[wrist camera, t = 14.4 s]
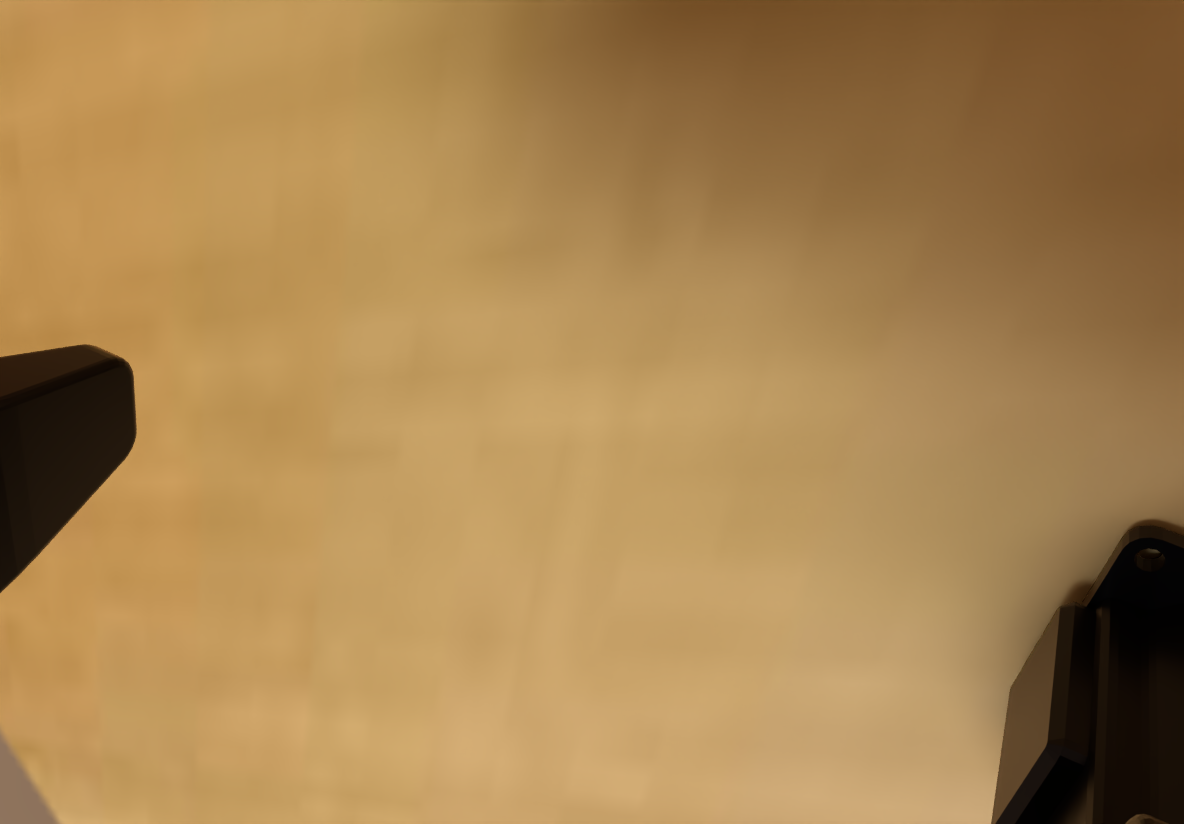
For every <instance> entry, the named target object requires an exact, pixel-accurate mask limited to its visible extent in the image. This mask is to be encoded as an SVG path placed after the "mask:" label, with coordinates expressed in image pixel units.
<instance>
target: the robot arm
mask: <svg viewBox="0 0 1184 824" xmlns="http://www.w3.org/2000/svg"><path fill="white" fill-rule="evenodd" d="M136 430H137V428H136V410H135V393H134V376H133V371H132V369H131V367H130V365H129V363H128V362H127V361H125V360H124V359H123V358H121V357H119V356H117V355H114V354H112V353H110V352H108V351H105V350H103V349H101V348H99V347H96V346H92V345H86V344H84V345H76V346H69V347H63V348H56V349H50V350H44V351H37V352H31V353H24V354H18V355H11V356H5V357H0V593H1V592H2V591H3V590H4V589H5V588H6V587H7V586H8V585H9V584H10V583H11V582H12V581H13V580H15V579H16V578H17V577H18V576H19V575H20V574H21V573H22V572H23V570H24V569H25V568H26V567H27V566H28V565H29V564H30V563H31V562H32V561H33V560H34V559H35V558H36V557H37V556H38V555H39V554H40V553H41V551H42V550H43V549H44V548H45V547H46V546H47V545H48V544H49V543H50V541H51V540H52V539H53V538H54V537H55V536H56V535H57V534H58V533H59V532H60V530H61V529H62V528H63V527H64V526H65V525H66V524H67V523H68V522H69V521H70V519H71V518H72V517H73V516H74V515H75V514H76V513H77V512H78V511H79V509H80V508H81V507H82V506H83V505H84V504H85V503H86V502H87V501H88V500H89V498H90V497H91V496H92V495H93V494H94V493H95V492H96V491H97V490H98V488H99V487H100V486H101V485H102V484H103V483H104V482H105V481H106V480H107V479H108V477H109V476H110V475H111V474H112V473H113V472H114V471H115V470H116V469H117V467H118V466H119V465H120V464H121V463H122V462H123V461H124V460H125V458H126V457H127V456H128V454H129V452H130V451H131V449H132V447H133V444H134V442H135V438H136ZM1148 548H1149V549H1154V550H1157V551H1159V552H1160V553H1162V554H1163V555H1162V556H1160V557H1159V558H1156V559H1152V560H1150V559H1144V558H1142V557H1140V556H1139V555H1137V553H1138V552H1139V551H1140V550H1144V549H1148ZM991 824H1184V536H1182V535H1179V534H1177V533H1174V532H1172V531H1169V530H1166V529H1164V528H1160V527H1156V526H1151V525H1150V526H1139V527H1137V528H1134V529H1132V530H1129V531H1128V532H1127V533H1126V534H1125V535H1124V536H1123V537H1122V539H1121V541H1120V542H1119V544H1118V546H1117V547H1116V549H1115V550H1114V552H1113V554H1112V555H1111V557H1110V559H1109V560H1108V562H1107V563H1106V565H1105V567H1104V568H1103V570H1102V572H1101V573H1100V575H1099V576H1098V578H1097V580H1096V581H1095V583H1094V585H1093V586H1092V588H1091V589H1090V591H1089V593H1088V594H1087V596H1086V598H1085V599H1084V601H1083V602H1082V604H1078V603H1076V602H1072V603H1069V604H1067V605H1064V606H1061V607H1059V608H1058V610H1057V611H1056V613H1055V615H1054V616H1053V618H1052V620H1051V621H1050V623H1049V625H1048V626H1047V628H1046V630H1045V631H1044V633H1043V635H1042V636H1041V638H1040V640H1039V641H1038V643H1037V645H1036V646H1035V648H1034V650H1033V651H1032V653H1031V655H1030V656H1029V658H1028V660H1027V661H1026V663H1025V665H1024V666H1023V668H1022V670H1021V671H1020V673H1019V675H1018V676H1017V678H1016V680H1015V681H1014V683H1013V685H1012V686H1011V689H1010V693H1009V701H1008V708H1007V715H1006V722H1005V729H1004V736H1003V743H1002V750H1001V758H1000V765H999V772H998V779H997V786H996V793H995V800H994V808H993V815H992V822H991Z"/></svg>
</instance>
